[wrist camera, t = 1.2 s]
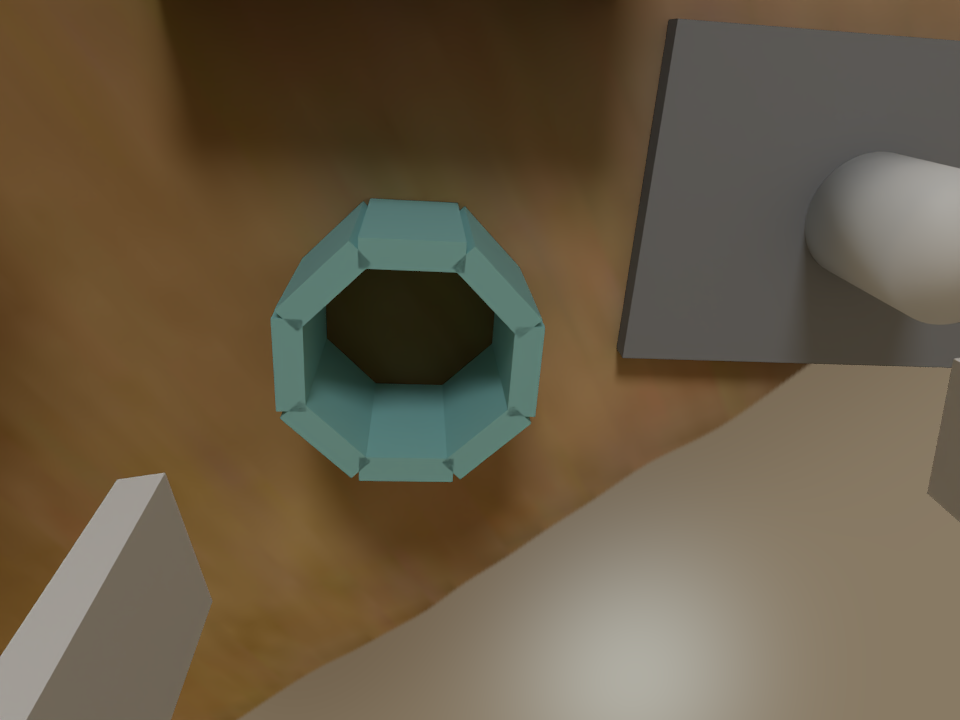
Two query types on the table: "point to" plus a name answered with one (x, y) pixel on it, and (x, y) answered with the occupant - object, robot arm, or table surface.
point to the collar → (406, 407)
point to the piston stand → (799, 200)
